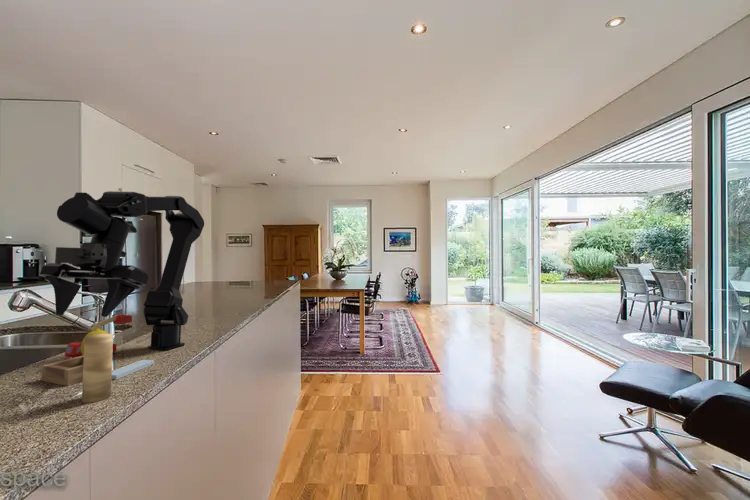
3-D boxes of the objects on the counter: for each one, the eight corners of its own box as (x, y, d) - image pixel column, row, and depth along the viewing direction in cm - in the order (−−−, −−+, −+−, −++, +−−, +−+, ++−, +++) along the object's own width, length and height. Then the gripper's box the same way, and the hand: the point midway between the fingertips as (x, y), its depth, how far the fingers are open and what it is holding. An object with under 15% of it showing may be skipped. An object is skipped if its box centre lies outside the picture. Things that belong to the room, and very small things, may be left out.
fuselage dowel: (100, 391, 63) (102, 332, 63) (116, 394, 62) (118, 334, 62) (76, 400, 59) (78, 337, 59) (92, 403, 58) (95, 339, 58)
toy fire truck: (61, 363, 78) (63, 321, 78) (122, 348, 91) (124, 312, 91) (71, 365, 77) (73, 322, 77) (131, 349, 90) (132, 313, 90)
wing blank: (142, 363, 79) (142, 359, 79) (153, 363, 79) (154, 360, 79) (103, 378, 69) (103, 374, 69) (116, 379, 69) (116, 375, 69)
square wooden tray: (83, 368, 75) (84, 355, 75) (108, 373, 72) (108, 359, 72) (41, 380, 67) (42, 365, 67) (67, 385, 65) (68, 370, 65)
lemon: (93, 367, 75) (95, 332, 75) (73, 365, 76) (75, 330, 77) (117, 360, 81) (118, 327, 81) (98, 358, 82) (99, 325, 82)
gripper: (29, 226, 66) (-8, 305, 60) (122, 228, 65) (94, 308, 59) (78, 247, 76) (50, 317, 70) (158, 250, 75) (137, 320, 69)
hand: (81, 315), depth 67 cm, fingers open, 9 cm apart
